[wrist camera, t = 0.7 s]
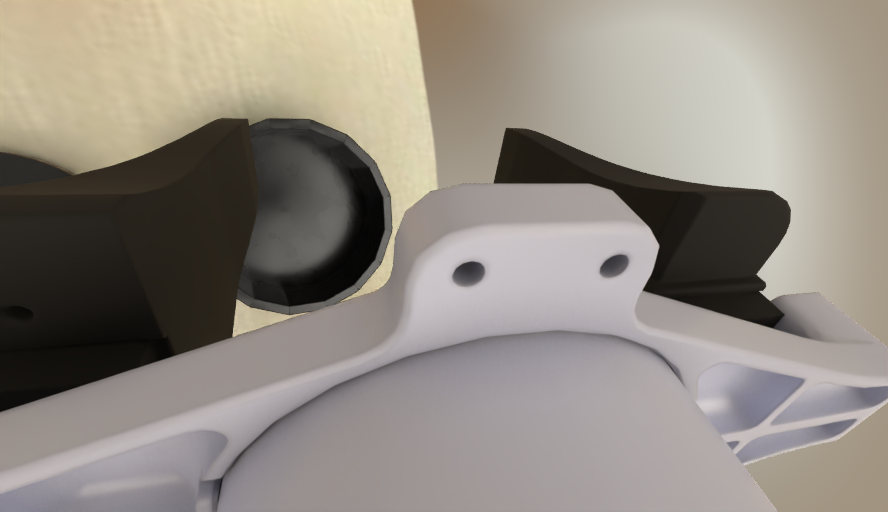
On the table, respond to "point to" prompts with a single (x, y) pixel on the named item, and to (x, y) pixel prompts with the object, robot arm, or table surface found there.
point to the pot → (312, 218)
